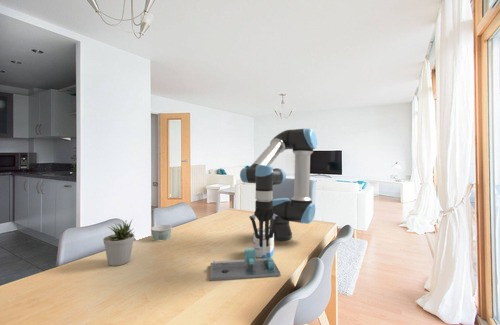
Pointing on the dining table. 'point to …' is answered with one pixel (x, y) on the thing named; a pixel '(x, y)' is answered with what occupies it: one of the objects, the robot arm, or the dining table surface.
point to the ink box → (259, 249)
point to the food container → (161, 232)
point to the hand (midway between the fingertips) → (263, 253)
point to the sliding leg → (250, 256)
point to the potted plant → (119, 245)
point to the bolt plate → (243, 269)
